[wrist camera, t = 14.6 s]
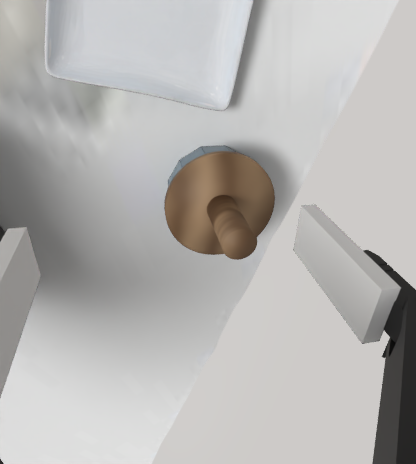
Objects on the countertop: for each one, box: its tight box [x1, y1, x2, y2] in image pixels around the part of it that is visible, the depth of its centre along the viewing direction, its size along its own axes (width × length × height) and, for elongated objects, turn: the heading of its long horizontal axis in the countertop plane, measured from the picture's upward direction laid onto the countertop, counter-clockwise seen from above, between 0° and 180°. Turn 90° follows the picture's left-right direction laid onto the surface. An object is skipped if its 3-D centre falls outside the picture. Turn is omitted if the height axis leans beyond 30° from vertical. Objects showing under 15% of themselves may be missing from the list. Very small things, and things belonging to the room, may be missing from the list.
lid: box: [165, 151, 275, 259], centre depth 43 cm, size 15×15×10 cm
